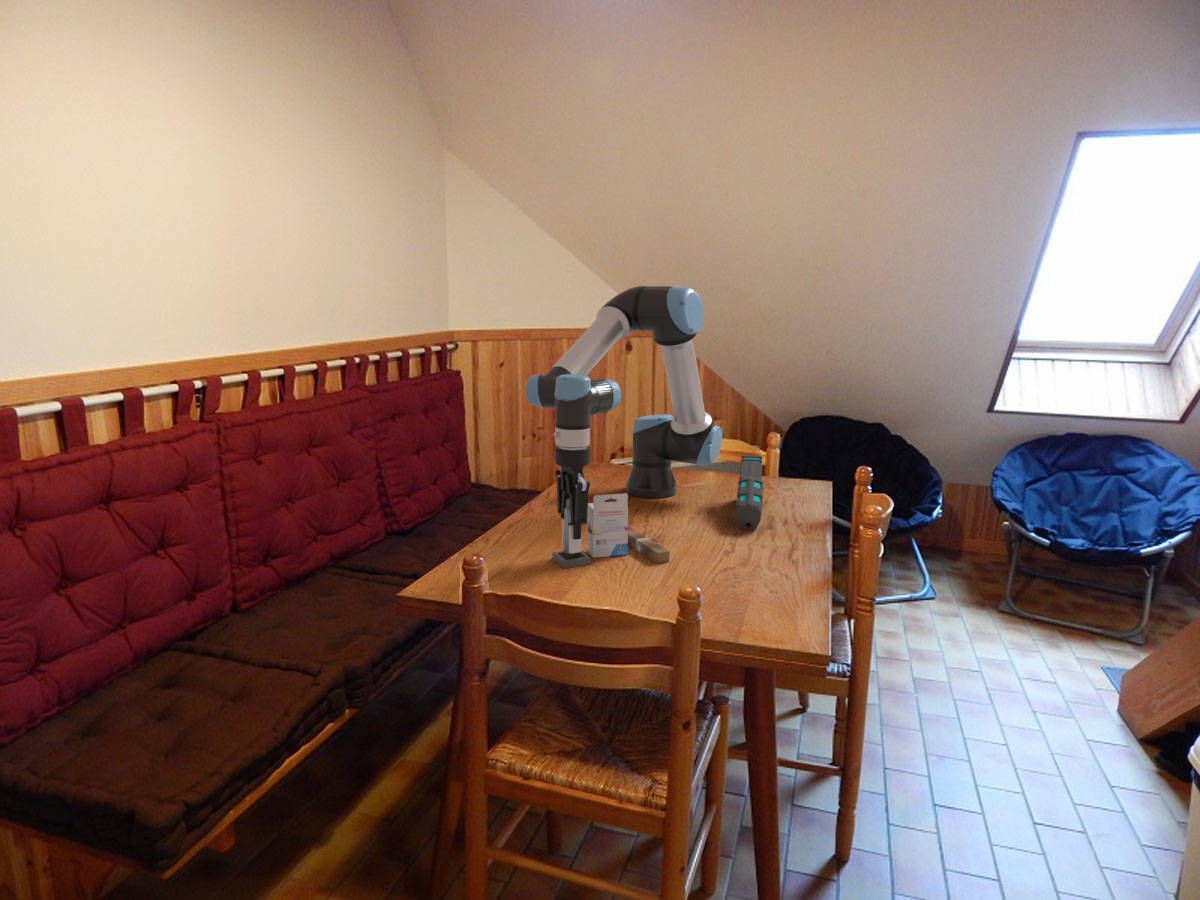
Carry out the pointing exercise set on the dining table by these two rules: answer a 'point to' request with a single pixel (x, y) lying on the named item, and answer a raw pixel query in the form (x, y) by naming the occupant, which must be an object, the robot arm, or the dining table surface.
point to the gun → (750, 492)
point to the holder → (581, 560)
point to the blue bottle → (567, 526)
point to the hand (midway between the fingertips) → (571, 549)
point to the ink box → (608, 526)
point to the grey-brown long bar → (647, 547)
